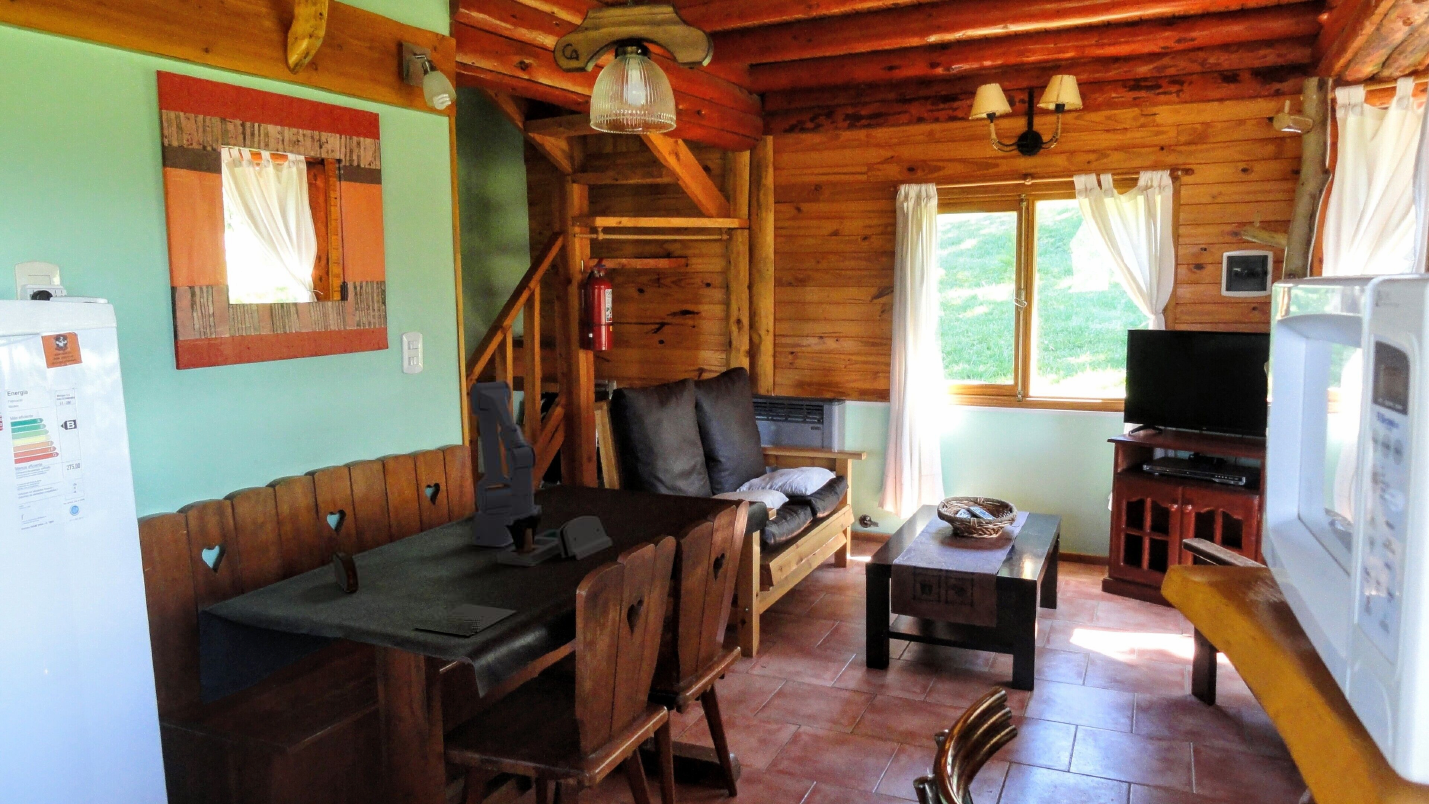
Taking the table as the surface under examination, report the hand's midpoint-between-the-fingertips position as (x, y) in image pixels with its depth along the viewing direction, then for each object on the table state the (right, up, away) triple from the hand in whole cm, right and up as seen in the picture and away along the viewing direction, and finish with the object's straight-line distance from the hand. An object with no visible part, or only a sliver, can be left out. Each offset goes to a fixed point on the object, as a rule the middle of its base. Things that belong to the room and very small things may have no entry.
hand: (524, 546), depth 250 cm
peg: (0, -3, 0) cm, 3 cm away
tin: (-38, -7, -20) cm, 43 cm away
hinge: (+14, -3, +8) cm, 16 cm away
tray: (+3, -3, +8) cm, 9 cm away
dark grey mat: (-6, -9, -40) cm, 41 cm away
